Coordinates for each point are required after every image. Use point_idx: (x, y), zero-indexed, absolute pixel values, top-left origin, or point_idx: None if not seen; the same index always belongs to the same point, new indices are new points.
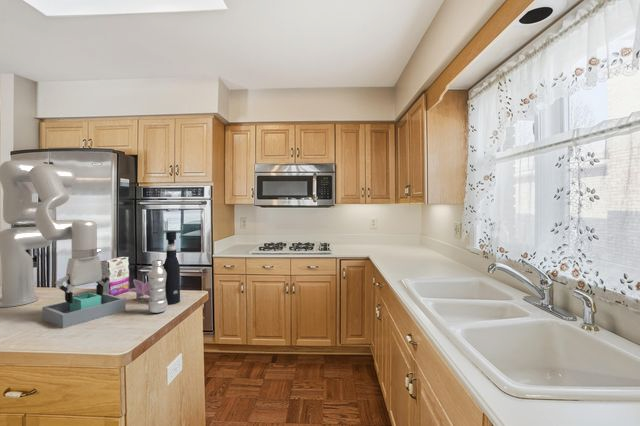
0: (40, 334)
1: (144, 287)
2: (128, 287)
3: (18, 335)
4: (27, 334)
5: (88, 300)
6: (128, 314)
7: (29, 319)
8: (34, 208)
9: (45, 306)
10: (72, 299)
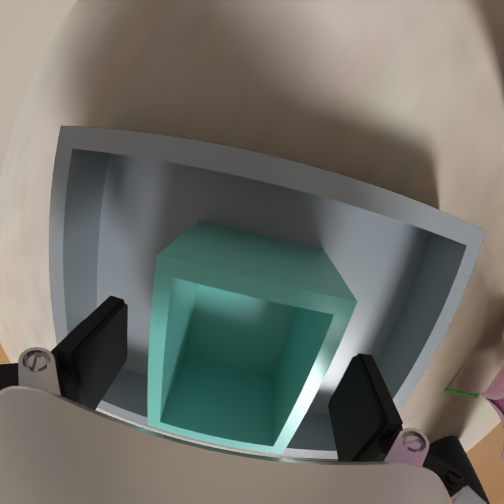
0: (42, 327)
1: (500, 416)
2: None
3: (8, 259)
4: (21, 281)
5: (199, 428)
6: None
7: (96, 66)
8: None
9: (72, 130)
10: (115, 375)
